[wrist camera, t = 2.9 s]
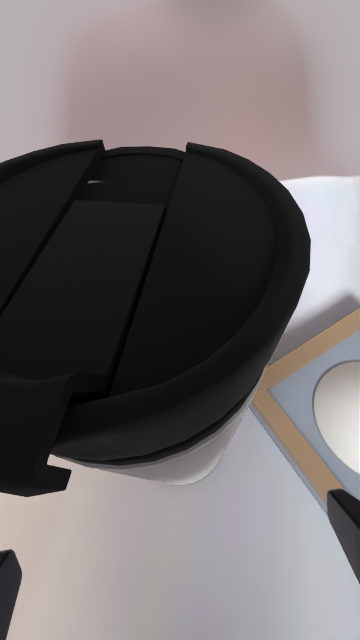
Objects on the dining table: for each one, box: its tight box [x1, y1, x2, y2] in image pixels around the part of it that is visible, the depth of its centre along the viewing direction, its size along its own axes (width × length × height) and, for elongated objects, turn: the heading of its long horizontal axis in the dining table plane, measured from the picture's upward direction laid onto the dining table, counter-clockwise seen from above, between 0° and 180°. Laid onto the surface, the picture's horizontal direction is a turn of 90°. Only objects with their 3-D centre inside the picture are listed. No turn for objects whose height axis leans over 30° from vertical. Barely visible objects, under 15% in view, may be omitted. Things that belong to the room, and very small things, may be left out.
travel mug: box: [0, 140, 311, 497], centre depth 12 cm, size 6×7×20 cm
